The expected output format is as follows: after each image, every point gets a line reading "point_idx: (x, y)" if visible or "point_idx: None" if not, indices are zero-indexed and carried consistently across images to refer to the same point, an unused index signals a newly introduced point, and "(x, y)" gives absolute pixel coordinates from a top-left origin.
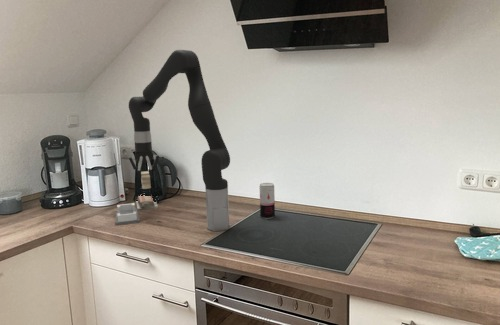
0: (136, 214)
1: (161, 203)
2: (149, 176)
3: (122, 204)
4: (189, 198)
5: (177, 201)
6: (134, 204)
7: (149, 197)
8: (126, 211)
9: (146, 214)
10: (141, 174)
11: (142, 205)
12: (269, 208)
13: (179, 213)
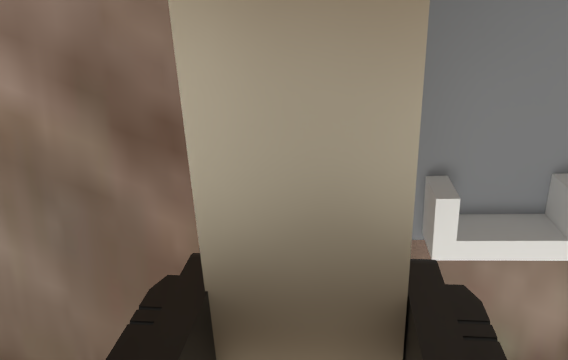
0: (427, 75)
1: None
2: (186, 49)
3: (540, 257)
4: (41, 356)
5: (115, 326)
6: (437, 217)
7: None
8: (497, 193)
9: None
10: (394, 356)
11: None
12: None
13: (74, 28)
